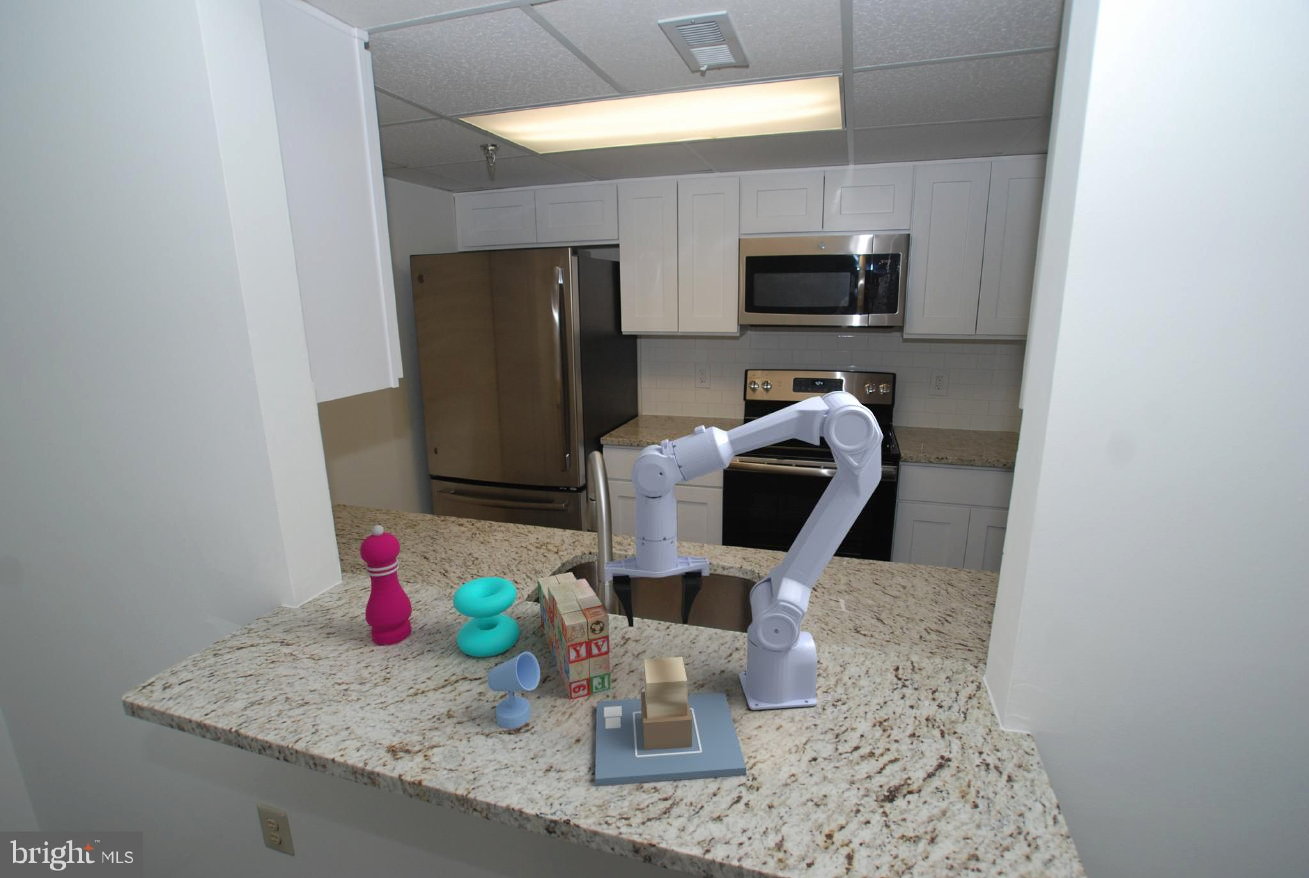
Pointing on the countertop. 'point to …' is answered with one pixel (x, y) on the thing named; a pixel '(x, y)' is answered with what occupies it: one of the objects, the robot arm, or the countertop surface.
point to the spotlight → (514, 688)
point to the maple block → (665, 687)
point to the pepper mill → (385, 589)
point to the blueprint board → (669, 766)
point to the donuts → (486, 616)
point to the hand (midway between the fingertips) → (657, 621)
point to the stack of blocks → (576, 633)
